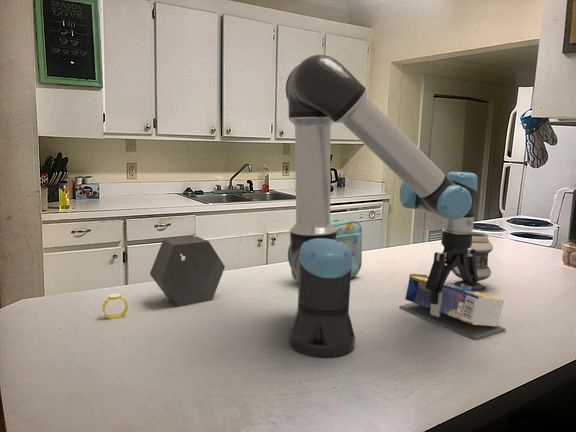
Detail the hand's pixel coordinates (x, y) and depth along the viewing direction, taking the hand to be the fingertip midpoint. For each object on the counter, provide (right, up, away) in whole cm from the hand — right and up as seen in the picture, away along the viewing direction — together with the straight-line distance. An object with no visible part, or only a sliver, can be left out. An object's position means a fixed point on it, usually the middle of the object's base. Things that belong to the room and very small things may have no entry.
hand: (449, 311), depth 129 cm
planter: (-72, +2, +8) cm, 72 cm away
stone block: (-1, +1, +22) cm, 22 cm away
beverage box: (+6, +2, -10) cm, 12 cm away
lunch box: (-31, +4, +31) cm, 44 cm away
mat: (0, -2, 0) cm, 2 cm away
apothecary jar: (+16, +2, +30) cm, 34 cm away
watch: (-87, 0, -7) cm, 88 cm away
